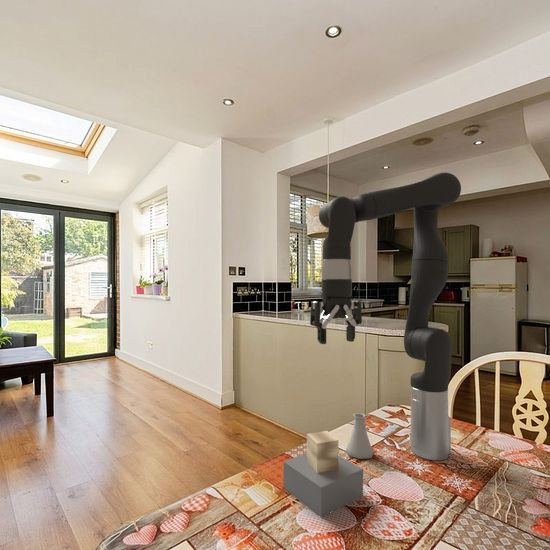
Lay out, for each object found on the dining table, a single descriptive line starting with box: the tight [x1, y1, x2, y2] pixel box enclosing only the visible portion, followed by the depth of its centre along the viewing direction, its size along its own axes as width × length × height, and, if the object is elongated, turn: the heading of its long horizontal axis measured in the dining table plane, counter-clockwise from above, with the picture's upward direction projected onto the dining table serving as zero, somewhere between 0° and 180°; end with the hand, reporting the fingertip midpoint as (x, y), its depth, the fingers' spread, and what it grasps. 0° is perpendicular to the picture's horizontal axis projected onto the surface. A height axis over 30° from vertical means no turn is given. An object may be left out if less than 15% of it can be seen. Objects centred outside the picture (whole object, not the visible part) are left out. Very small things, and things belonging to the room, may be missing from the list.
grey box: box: [283, 452, 364, 518], centre depth 75 cm, size 12×12×6 cm
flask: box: [345, 412, 375, 460], centre depth 92 cm, size 7×7×10 cm
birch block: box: [306, 430, 339, 473], centre depth 75 cm, size 5×5×6 cm
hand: (336, 342), depth 87 cm, fingers open, 8 cm apart
